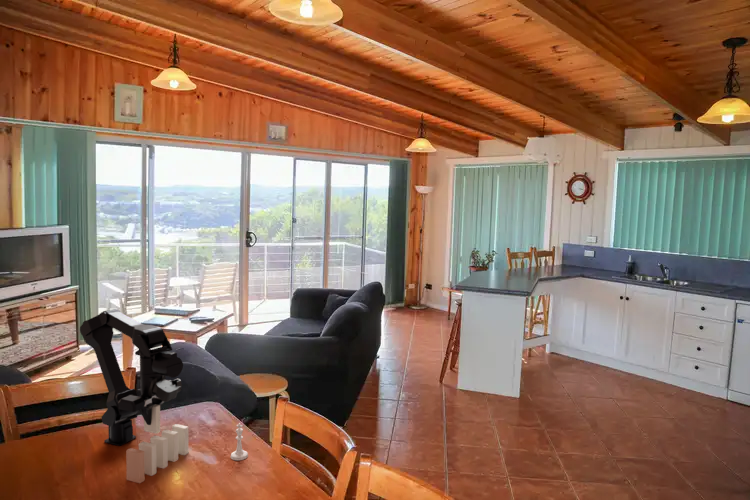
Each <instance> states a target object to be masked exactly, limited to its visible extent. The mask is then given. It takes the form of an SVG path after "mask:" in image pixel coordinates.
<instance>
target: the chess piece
mask: <svg viewBox="0 0 750 500" xmlns="http://www.w3.org/2000/svg"><path fill="white" fill-rule="evenodd" d="M243 426H244V425H243V424H241V422H239V423H238V424H236V429H235V433H236V436H235V440H237V443H236V450H235V451H233V452H231V454H230V459H231V460H233V461H243V460H245V459H247V458H248V457H249V452H248V451H246V450H244V449H243V445H242V440H243V439H244V436H243V435H242V434H243V432H244V429H243ZM237 427H238V428H237Z"/></svg>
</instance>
